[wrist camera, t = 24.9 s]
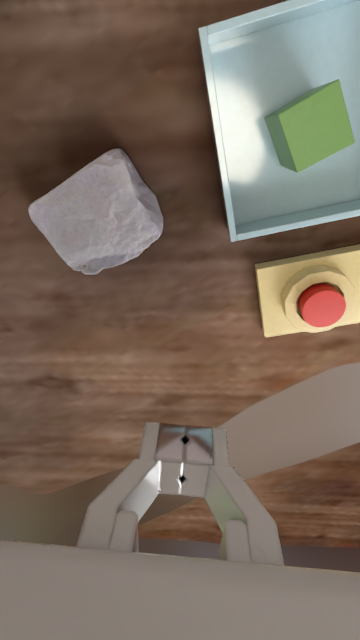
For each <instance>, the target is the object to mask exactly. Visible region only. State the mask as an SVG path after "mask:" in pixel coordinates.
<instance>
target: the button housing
mask: <svg viewBox="0 0 360 640" xmlns="http://www.w3.org/2000/svg"><path fill="white" fill-rule="evenodd" d="M255 273H256V281H257V290H258V298H259V306H260V314H261V322H262V330H263V334H264V337H271V336H277V335H284V334H290V333H297V332H303V331H307V332H310V333H315V332H321V331H327V330H330V329H332V328H334V327H335V326H342V325H348V324H354V323H360V244H358V245H353V246H347V247H342V248H337V249H332V250H327V251H321V252H316V253H311V254H306V255H301V256H295V257H290V258H285V259H280V260H274V261H269V262H264V263H259V264H255ZM316 284H329V285H332V286H333V287H335V288H336V289H337V290H338V291H339V293H340V294H341V295H342V296H343V297H344V299H345V302H346V309H345V312H344V314H343V316H342V317H341V318H340V319H339V320H338V321H337V322H336V323H334V324H332V325H330V326H327V327H314V326H311V325H309V324H308V323H307V322H306V321H305V320H304V318H303V317H302V315H301V313H300V311H299V308H298V301H299V298H300V296H301V295H302V293H303V292H304V291H305V290H306V289H308V288H309V287H311V286H313V285H316Z"/></svg>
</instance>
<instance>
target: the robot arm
mask: <svg viewBox="0 0 360 640" xmlns="http://www.w3.org/2000/svg"><path fill="white" fill-rule="evenodd" d="M157 494H174V495H186V496H195V497H203V498H204V499H205V501H206V503H207V505H208V507H209V509H210V511H211V512H212V514H213V516H214V518H215V520H216V522H217V524H218V526H219V527H220V529H221V531H222V533H223V535H222V539H221V544H220V548H219V552H218V557H217V559H206V558H194V557H184V556H172V555H161V554H149V553H139V552H138V522H139V520H140V519H141V517H142V516H143V515H144V513H145V512H146V510H147V509H148V508H149V506H150V505H151V503H152V502H153V501H154V499H155V498H156V496H157ZM0 640H360V573H359V572H348V571H337V570H325V569H315V568H304V567H293V566H284V562H283V556H282V551H281V546H280V541H279V536H278V530H277V525H276V522H275V521H274V519H273V518H272V517H271V516H270V514H269V513H268V512H267V510H266V509H265V508H264V506H263V505H262V504H261V502H260V501H259V500H258V498H257V497H256V496H255V494H254V493H253V492H252V491H251V489H250V488H249V487H248V485H247V484H246V483H245V481H244V480H243V479H242V477H241V476H240V475H239V473H238V472H237V471H236V470H235V468H234V467H230V465H229V453H228V442H227V432H226V429H225V428H216V427H204V426H190V425H186V426H185V425H176V424H167V423H156V422H146V424H145V429H144V434H143V439H142V444H141V450H140V455H139V459H134V460H133V461H132V462H131V463H130V464H129V465H128V466H127V467H126V468H125V469H124V470H123V471H122V472H121V473H120V474H119V475H118V476H117V477H116V478H115V479H114V481H112V482H111V483H110V484H109V486H108V487H107V488H106V489H105V490H104V491H103V492H102V493H101V494H100V495H99V496H98V497H97V498H96V499H95V500H94V501H93V502H92V503H91V504H90V505H89V506H88V510H87V513H86V516H85V519H84V522H83V526H82V529H81V533H80V536H79V539H78V542H77V545H76V547H73V546H61V545H51V544H40V543H29V542H17V541H6V540H0Z"/></svg>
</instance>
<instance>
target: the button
mask: <svg viewBox="0 0 360 640" xmlns="http://www.w3.org/2000/svg"><path fill="white" fill-rule="evenodd" d="M298 308H299V311H300V313H301V315H302V317H303V318H304V320H305V321H306V322H307V323H308V324H309V325H311V326H314V327H327V326H330V325H332V324H334V323H336V322H337V321H338V320H339V319H340V318H341V317H342V316H343V314H344V312H345V309H346V302H345V299H344V297H343V296H342V295H341V294H340V293H339V291H338V290H337V289H336V288H335V287H333V286H332V285H329V284H316V285H313V286H311V287H309V288H308V289H306V290H305V291H304V292H303V293H302V295H301V296H300V298H299V301H298Z"/></svg>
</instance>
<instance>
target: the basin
mask: <svg viewBox="0 0 360 640" xmlns="http://www.w3.org/2000/svg"><path fill="white" fill-rule="evenodd" d="M198 31H199V48H200V54H201V61H202V67H203V74H204V80H205V87H206V93H207V99H208V106H209V112H210V119H211V125H212V132H213V138H214V145H215V151H216V157H217V164H218V170H219V177H220V183H221V190H222V196H223V203H224V209H225V215H226V222H227V228H228V233H229V236H230V240H231V242H233V241H237V240H242V239H247V238H252V237H257V236H262V235H267V234H272V233H277V232H282V231H286V230H291V229H296V228H301V227H306V226H311V225H316V224H321V223H325V222H330V221H335V220H340V219H345V218H350V217H355V216H360V0H287V1H284V2H281V3H278V4H274V5H271V6H268V7H265V8H262V9H258V10H255V11H252V12H249V13H246V14H242V15H239V16H236V17H233V18H230V19H227V20H223V21H220V22H217V23H214V24H211V25H207V27H206V26H204V27H201V28H199V29H198ZM337 79H339V81H340V85H341V89H342V93H343V97H344V101H345V105H346V109H347V113H348V117H349V121H350V125H351V129H352V133H353V137H354V141H355V143H354V144H352V145H350V146H348V147H346V148H344V149H342V150H340V151H338V152H337V153H335V154H333V155H331V156H329V157H327V158H325V159H323V160H321V161H319V162H317V163H316V164H314V165H312V166H310V167H308V168H306V169H304V170H302V171H300V172H298V173H297V172H294V171H292V170H289V169H287V168H285V167H282V166H281V164H280V161H279V159H278V156H277V153H276V150H275V147H274V144H273V142H272V139H271V136H270V133H269V130H268V128H267V125H266V122H265V119H264V118H265V117H266V116H268V115H270V114H271V113H273V112H275V111H276V110H278V109H280V108H281V107H283V106H285V105H286V104H288V103H290V102H292V101H293V100H295V99H297V98H298V97H300V96H302V95H303V94H305V93H307V92H308V91H310V90H312V89H314V88H316V87H319V86H322V85H324V84H327V83H329V82H332V81H335V80H337Z"/></svg>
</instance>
